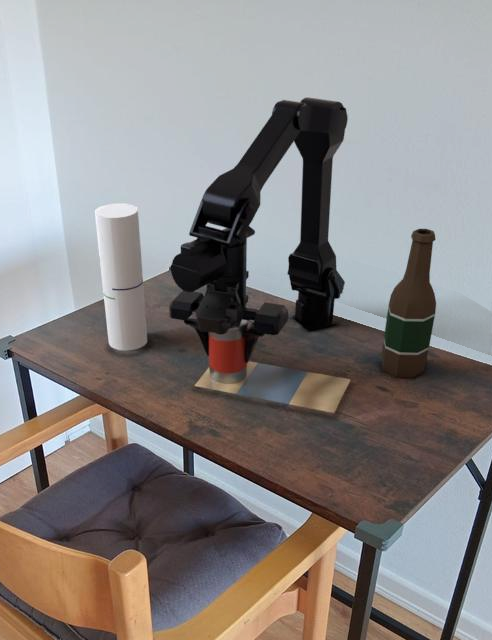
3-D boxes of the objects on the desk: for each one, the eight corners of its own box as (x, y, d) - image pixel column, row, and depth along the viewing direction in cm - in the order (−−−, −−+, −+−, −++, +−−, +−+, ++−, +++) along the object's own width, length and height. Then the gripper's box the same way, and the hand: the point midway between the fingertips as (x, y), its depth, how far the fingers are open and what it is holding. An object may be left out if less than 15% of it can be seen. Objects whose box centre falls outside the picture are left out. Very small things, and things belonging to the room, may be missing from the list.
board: (350, 384, 127) (350, 379, 126) (333, 418, 119) (334, 412, 118) (218, 360, 135) (218, 355, 134) (194, 390, 127) (194, 385, 126)
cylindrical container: (142, 356, 136) (131, 218, 121) (104, 353, 138) (89, 216, 122) (151, 338, 142) (142, 204, 126) (115, 335, 143) (102, 202, 128)
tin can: (237, 361, 132) (237, 308, 126) (253, 378, 127) (254, 324, 121) (203, 369, 130) (202, 315, 124) (218, 387, 125) (217, 332, 119)
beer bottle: (373, 372, 130) (392, 235, 115) (386, 353, 135) (406, 219, 120) (418, 382, 127) (443, 243, 112) (430, 362, 132) (455, 226, 117)
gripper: (152, 281, 114) (157, 371, 124) (268, 299, 108) (265, 392, 118) (181, 255, 122) (184, 341, 132) (291, 270, 117) (286, 359, 126)
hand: (228, 358), depth 127 cm, fingers closed on tin can, 6 cm apart
